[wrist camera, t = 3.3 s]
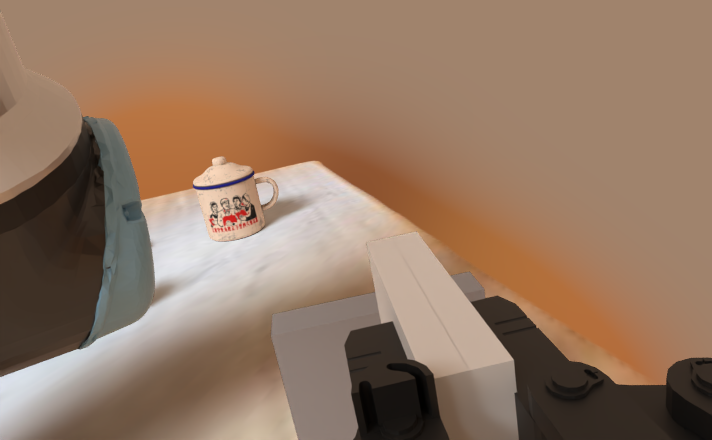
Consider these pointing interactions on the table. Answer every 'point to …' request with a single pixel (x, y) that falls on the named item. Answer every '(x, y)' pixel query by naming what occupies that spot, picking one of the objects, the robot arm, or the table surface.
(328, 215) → the table surface
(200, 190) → the teacup with lid
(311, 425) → the ceramic tile
